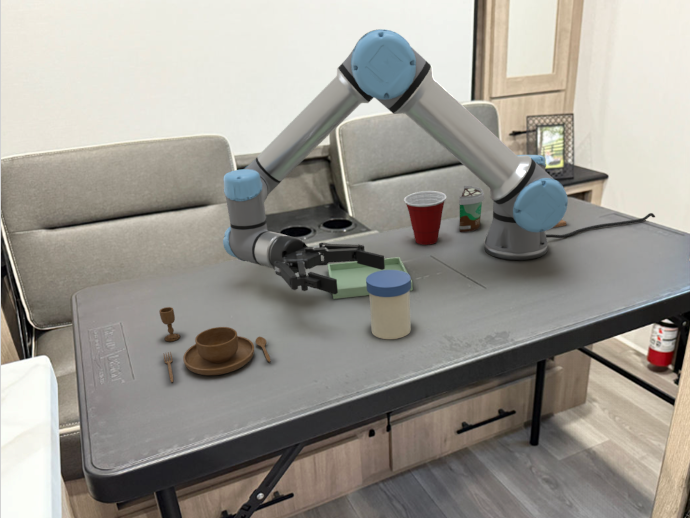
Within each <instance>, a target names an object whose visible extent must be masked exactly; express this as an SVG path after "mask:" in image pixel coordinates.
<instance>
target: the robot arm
mask: <svg viewBox="0 0 690 518" xmlns="http://www.w3.org/2000/svg"><path fill="white" fill-rule="evenodd" d="M373 99H376V100H377V101H378V102H379V103H380V104H382V106H384V107H385V108H386V109H387V110H388V111H390V112H391V113H392V114H393V115H400V114H404V115H406V116H407V117H408V118H409V119H410V120H411V121H413V122H414V123H415V124H416V125H417V126H419V127H420V128H421V129H422V130H423V131H424V132H425V133H426V134H428V135H429V136H430V137H431V138H432V139H433V140H434V141H435V142H437V143H438V144H439V145H440V146H441V147H442V148H444V149H445V151H447V152H448V153H449V154H451V155H452V156H453V157H454V158H455V159H456V160H457V161H458V162H459V163H461V164H462V165H463V166H464V167H465V168H466V169H467V170H469V171H470V172H471V173H472V174H473V175H475V176H476V178H478V180H480V181H481V182H482V183H484V185H486V186H487V187H488V188H489V198H490V199H491V200H492V201H493V202H492V220H491V223H490V226H489V228H488V231H487V234H486V235H485V237H484V239H483V244H484V251H485V252H486V253H487V254H488V255H490V256H492V257H495V258H497V259H502V260H508V261H509V260H510V261H526V260H528V261H529V260H534V259H537V258H540V257H543V256H544V255H546V254H547V252H548V246H549V242H548V238H549V239H550V238H551V239H552V238H555V239H564V238H568V237H572V236H573V235H576V234H579V233H582V232H586V231H590V230H594V229H600V228H605V227H614V226H621V225H622V226H623V225H628V224H635V223H641V222H644V221H646V220H648V218H656V215H655V214H654V213H653V212H649V213H648V214H646V215H645V216H644V217H641V218H636V219H631V220H630V219H629V220H623V221H615V222H607V223H601V224H595V225H590V226H586V227H582V228H579V229H576V230H573V231H571V232H568V233H564V234H551V233H549V234H546V231H549V230H551V229H553V227H554V226H555V225H557V224H558V223H559V222H560V221H561V220H563V218H564V216H565V215H566V212H567V209H568V203H569V198H568V193H567V191H566V190H565V187H564V186H563V184H562V183H561V182H560V181H559V180H556V179H555V178H554V177H552V175H550V174H549V173H548V172H547V171H546V168H547V164H546V158H545V156H543V155H540V154H516V153H515V152H514V151H513V150H511V148H510V147H509V146H508V145H507V144H505V143H504V142H503V141H502V140H501V139H500V138H499V137H498V136H497V135H496V134H494V133H493V132H492V131H491V130H490V129H489V128H488V127H487V126H486V125H485V124H484V123H482V122H481V121H480V120H479V119H478V118H477V117H476V116H475V115H473V113H471V111H469V110H468V108H466V107H465V106H464V105H463V104H462V103H460V101H458V100H457V98H455V97H454V96H453V95H452V94H451V93H450V92H449V91H447V89H445V88H444V87H443V85H441V84H440V83H439V82H438V81H437V80H435V79H434V74H433V65H431V64H430V63H429V62H428V61H427V60H426V59H425V58H424V57H423V56H422V55H421V54H419V52H417V51H416V50H415V49H414V48H413V47H412V46H411V44H410V42H409V41H408V40H407V39H406V38H405V37H404V36H402V35H401V34H400V33H398V32H396V31H394V30H391V29H381V28H380V29H374V30H370V31H368V32H366V33H364V34H363V35H362V36H361V37H360V38H359V39H358V40H357V42H356V44H355V46H354V47H353V49H351V52H350V53H349V54H348V56H347V57H346V58H345V59H344V60H343V62H342V63H341V64H339V66H338V67H337V68H336V75H335V77H334V78H333V79H332V80H331V81H330V82H329V83H328V84H327V85H326V86H325V87H324V88H323V89H322V90H321V91H320V92H319V93H318V94H317V95H316V96H315V97H314V98H313V100H311V102H310V103H308V104H307V105H306V107H304V108H303V110H301V111H300V112H299V113H298V115H296V116H295V117H294V118H293V120H292V121H290V123H288V125H287V126H285V128H284V129H282V130H281V132H280V133H279V134H277V135H276V137H275V138H274V139H273V140H272V141H271V142H270V143H269V144H268V145H267V146H266V147H265V148H264V149H263V150H262V151H261V152H260V153H259V154H258V155H257V157H255V158H254V159H253V160H252V161H251V162H250V163H249V164H248V165H246V166H245V167H244V168H243V169H236V170H231V171H229V172H226V173H225V174H224V175H223V193H224V195H225V200H226V201H225V202H226V207H227V213H228V218H229V225H230V226H229V227H227V229H226V230H225V231H224V236H223V239H222V245H223V248H224V250H225V252H226V253H227V254H228V255H229V256H231V257H234V258H236V259H238V260H240V261H242V262H247V263H252V264H255V265H259V266H262V267H266V268H268V269H271V270H273V271H274V273H275V275H276V276H279V277H280V278H281V279H282V280H283V281H284V282H285V283H286V284H287V286H288V287H289V288H290V289H291V291H292V290H293V291H296V290H298V289H299V287H300V288H301V291H302V292H307V291H308V290H309V288H312V289H315V290H320V291H322V292H326V293H329V294H332V295H333V294H337V293H338V289H337V279H334V278H331V277H329V276H327V275H323V274H320V273H317V272H313V271H309V272H308V273H307V270H311V269H313V268H314V267H319V266H327V264H334V263H345V262H355V261H357V263H358V264H362V265H365V266H369V267H373V268H377V269H381V270H383V269H385V264H384V259H385V255H382V254H379V253H374V252H370V251H366V250H365V245H364V244H359V243H357V244H348V243H347V244H346V243H345V244H344V243H328V242H319V243H318V247H314V246H308V245H307V244H306V242H304V241H303V239H302V238H299V237H294V236H290V235H286V234H283V233H280V232H275V231H270V230H268V225H267V217H266V211H265V210H266V208H265V207H266V206H265V202H266V200H267V198H268V196H269V195H270V194H271V192H273V191H274V190H275V189H276V188H277V187H278V185H280V183H281V182H283V180H285V179H286V177H288V175H289V174H291V172H293V171H294V170H295V169H296V168H297V167H298V166H299V165H300V164H301V163H302V162H303V161H304V160H305V159H306V158H307V157H308V156H310V154H311V153H312V152H313V151H314V150H315V149H316V148H317V147H319V146H320V144H321V143H322V142H323V141H325V139H326V138H328V136H330V135H331V133H333V132H334V130H336V129H337V128H338V127H339V126H340V125H341V124H342V123H343V122H344V121H345V120H346V119H347V118H348V117H349V116H350V115H351V114H352V113H353V112H354V111H355V110H356V109H357V108H358V107H359V106H360V105H362V104H369V103H370V102H371V101H372V100H373ZM554 228H555V227H554ZM322 257H323V260H322ZM296 274H298V275H296Z"/></svg>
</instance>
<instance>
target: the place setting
mask: <svg viewBox="0 0 690 518" xmlns="http://www.w3.org/2000/svg"><path fill="white" fill-rule="evenodd" d="M159 316H160V319H161V322H162V324H164V325H166V327H167V333H169V334H167V335H166V336H165V337H164V339H163V340H164V341H165V342H175V341H178V340H179V339H180V338H181V335H180V334H179V333H174V332H175V330H174V328H173V324H174V322H175V321H176V316H175V311H174V307H172V306H167V307H163V308H160V309H159ZM255 344H256V346H258V347H260V348H262V352H263V354H264V356H265V360H266V361H267V362H271V357H270V354H269V352H268V351H267V349H266V345H267V339H266V338H265V337H263V336H257V337H256V339H255ZM254 355H255V345H254V342H253V341H252V340H250V339H249V338H247V337H244V336H240V335H238V333H237V330H236V329H234V328H232V327H228V326H217V327H211V328H208V329H205V330H203V331H201V332H200V333H198V334H197V335H196V337H195V339H194V344H193V345H191V346H190V347H189V348H188V349H186V350H185V353H184V355H183V356H182V359H183V360H182V361H183V364H184V366H185V367H186V368H187V369H188V370H189V371H190V372H192V373H194V374H198V375H202V376H219V375H225V374H229V373H231V372H234V371H237V370H239V369H241V368H242V367H244V366H245V365H247V364H248V363H249V362H250V361H251V360H252V358H253V357H254ZM163 360H164V363H165V364H167V369H168V375H169V380H170V383H173V382H174V375H173V369H172V363H173V356H172V352H171V351H169V352H167V353H165V354H163Z"/></svg>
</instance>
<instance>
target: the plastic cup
mask: <svg viewBox="0 0 690 518" xmlns="http://www.w3.org/2000/svg"><path fill="white" fill-rule="evenodd" d="M446 199H447V194H446V193H444V192H441V191H438V190H436V191H435V190H422V191H416V192H412V193H410V194H408V195H406V196H405V197H404V198H403V202H404V204H405V205H406V208H407V211H408V214H409V219H410V224H411V228H412V231H413V238H414V240H415V243H417V244H419V245H422V246H423V245H425V246H426V245H427V246H428V245H433V244H436V243H437V242H438V240H439V236H440V229H441V224H442V216H443V211H444V205H445V202H446Z"/></svg>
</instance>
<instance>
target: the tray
mask: <svg viewBox="0 0 690 518" xmlns="http://www.w3.org/2000/svg"><path fill="white" fill-rule="evenodd" d="M384 264H385V269H383V270H399V271H403V272H406V273H408V274H409V272H408V270H407V268H406V267H405V264H404V263H403V261H402V258H401V257H400V256H397V257H387V258H386V257H384ZM326 266H327V275H328V277H331V278H334V279H337V289H338V293H337V294H332V300H337V299H348V298H355V297H365V296H369V292H368V291H367V286H366V278H367V277H368V276H369V275H370V274H372V273H374V272H377V271H382V270H381V269H377V268H373V267H369V266H365V265H362V264H358V263H357V261H351V262H334V263H328V264H327V265H326ZM413 288H414V286H413V280H412V279H411V289H410V292H411V291H413Z"/></svg>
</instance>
